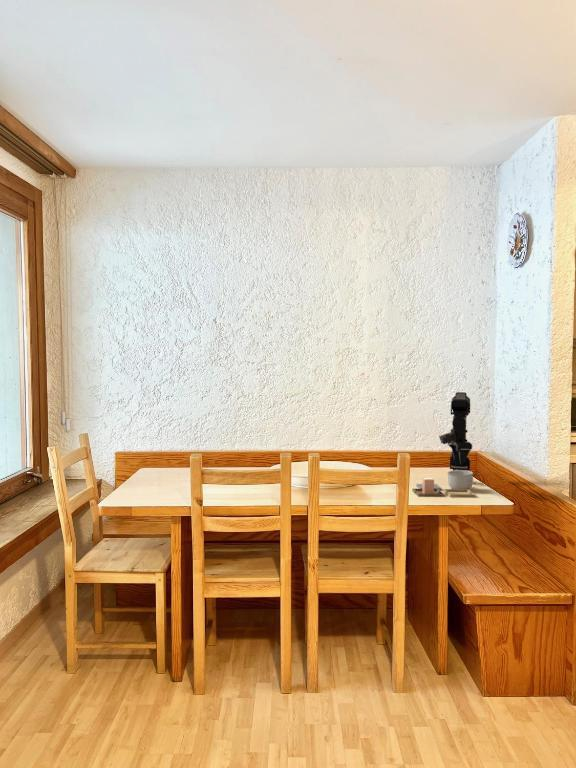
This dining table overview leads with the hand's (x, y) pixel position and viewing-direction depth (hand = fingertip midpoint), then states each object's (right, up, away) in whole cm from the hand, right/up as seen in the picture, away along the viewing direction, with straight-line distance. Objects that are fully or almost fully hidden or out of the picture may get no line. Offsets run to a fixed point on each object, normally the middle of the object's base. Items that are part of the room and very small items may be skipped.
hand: (458, 462), depth 290 cm
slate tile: (-13, -12, 0) cm, 18 cm away
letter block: (-16, -12, -11) cm, 23 cm away
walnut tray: (-16, -12, -11) cm, 23 cm away
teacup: (+1, -12, +2) cm, 12 cm away
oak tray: (-3, -13, -11) cm, 17 cm away
